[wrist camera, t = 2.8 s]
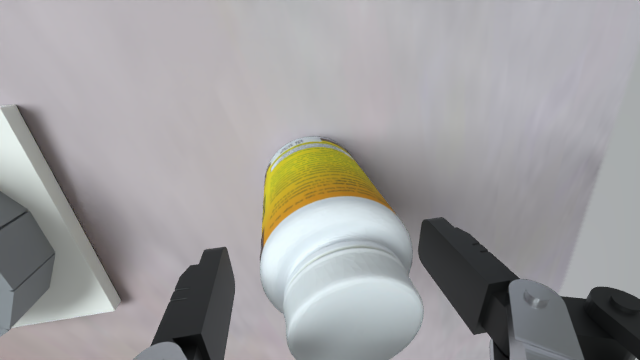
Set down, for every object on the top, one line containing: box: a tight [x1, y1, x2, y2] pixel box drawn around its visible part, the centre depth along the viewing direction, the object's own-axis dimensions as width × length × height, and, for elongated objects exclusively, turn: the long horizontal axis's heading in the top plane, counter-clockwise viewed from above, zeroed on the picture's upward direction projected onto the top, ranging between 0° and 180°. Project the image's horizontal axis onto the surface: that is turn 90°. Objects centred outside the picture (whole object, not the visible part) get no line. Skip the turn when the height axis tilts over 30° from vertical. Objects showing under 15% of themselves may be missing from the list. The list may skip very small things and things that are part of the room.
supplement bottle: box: [260, 137, 424, 360], centre depth 12 cm, size 6×6×10 cm
